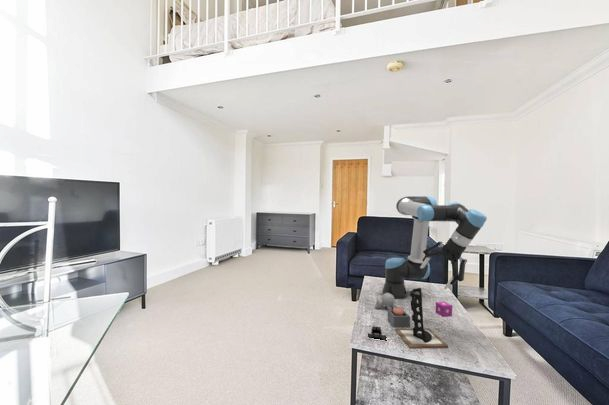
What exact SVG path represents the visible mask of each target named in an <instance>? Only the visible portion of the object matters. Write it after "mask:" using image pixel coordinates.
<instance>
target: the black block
mask: <svg viewBox="0 0 609 405" xmlns="http://www.w3.org/2000/svg"><path fill="white" fill-rule="evenodd" d="M370 331H371V332H370V334H369V333H368V332H367V333H368V337H369V338H374V339H380V340H385V341H387V340H386V338H387V337H388V336H387V337H386V334H383V330H382V327H381V326H374V325H372V326H371V329H370ZM385 341H384V342H385Z"/></svg>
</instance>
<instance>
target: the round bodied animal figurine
mask: <svg viewBox="0 0 609 405" xmlns="http://www.w3.org/2000/svg"><path fill="white" fill-rule="evenodd" d="M375 302H376V303H373V306H374V307H375V309H377V310H378V309H380V308H381V307H383V306H386V309H387V311H388V310H393V308H394V307H398V304H396V299H395V298H394V296H393V295H392V294H390V293H385V294H382V295H381V298H378V297H376V301H375Z"/></svg>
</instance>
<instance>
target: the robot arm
mask: <svg viewBox="0 0 609 405" xmlns="http://www.w3.org/2000/svg"><path fill="white" fill-rule="evenodd" d="M395 207H396V210H397V212H398V213H399V214H401V215H404V216H411V218H412V219H413V229H412V237H411V246H410V255H408V256H407V260H405V258H403V257H391V258H388V259H386V260H385V266H384V268H385V273H384V274H385V277H384V280H385V281H384V283H383V284H384V285H383V288H382V292H381V294H382V295H383V294H385V293H390V294H392V295H393V296H394V298H395V300H396V299H398V300H399V299H406V298H407V297H408V291H407V288H406V286H405V280H426V279H428V277H429V276H430V273H431V265H430V263H429V261H430V260H431V257H433V256H437V255H438V256H439V255H442V257H444V258H445V259H446V260H448V261H450V264H451V268H452V275H453V276H452V277H451V278H450V279H449V280H448V282H447V283H446V284H445V285H444V287H443V289H444V290H447V289H449V287H450V286H453V285H455V284H456V283H457V281H458V282H463V281H465V280H464V279H465V271H466V264H467V263H468V260H467V259H466V258H464V257H462V255H463V253H465V250H466V249H467V247H468V246H469V245H470V244H471V243H472V241H473V240H474V238H475V237H476V235H477V234H478V233H479V231H480V230H481V228H482V227H484V225H485V222H487V220H488V219H487V216H486V215H485V214H483V213H482V212H481V211H478V210H476V209H473V208H472V209H468V208H467V207H466V206H464V204H461V203H460V202H457V201H453V202H451V203H449V204H447V205H446V204H445V205H444V204H441V205H440V204H438V203H437V200H436V199H435V198H434V197H432V196H425V195H424V196H420V195H419V196H404V197H402V198H399V199H398V201H397V202H396V206H395ZM430 222H452V223H453V222H454V223H456V224H457V225H458V226H457V227H455V230H454V231H453V233H452V234H451V235H450V237H449V238H448V240H447V241H446V242H445V244H444V243H443V241H438V242H436V244H434V245H432V246H431V247H428V248H427V246H428V245H427V244H428V233H429V226H430ZM438 248H441V250H440V251H436V252H433V250H436V249H438ZM431 251H432V253H430V252H431ZM458 260H459V268H458Z"/></svg>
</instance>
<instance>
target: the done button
mask: <svg viewBox="0 0 609 405" xmlns="http://www.w3.org/2000/svg"><path fill="white" fill-rule="evenodd" d="M392 310H393V314H394V315H395V316H404V311H405V310H404V308H403V307H398V306H397V307H394V308H393V307H392Z"/></svg>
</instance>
